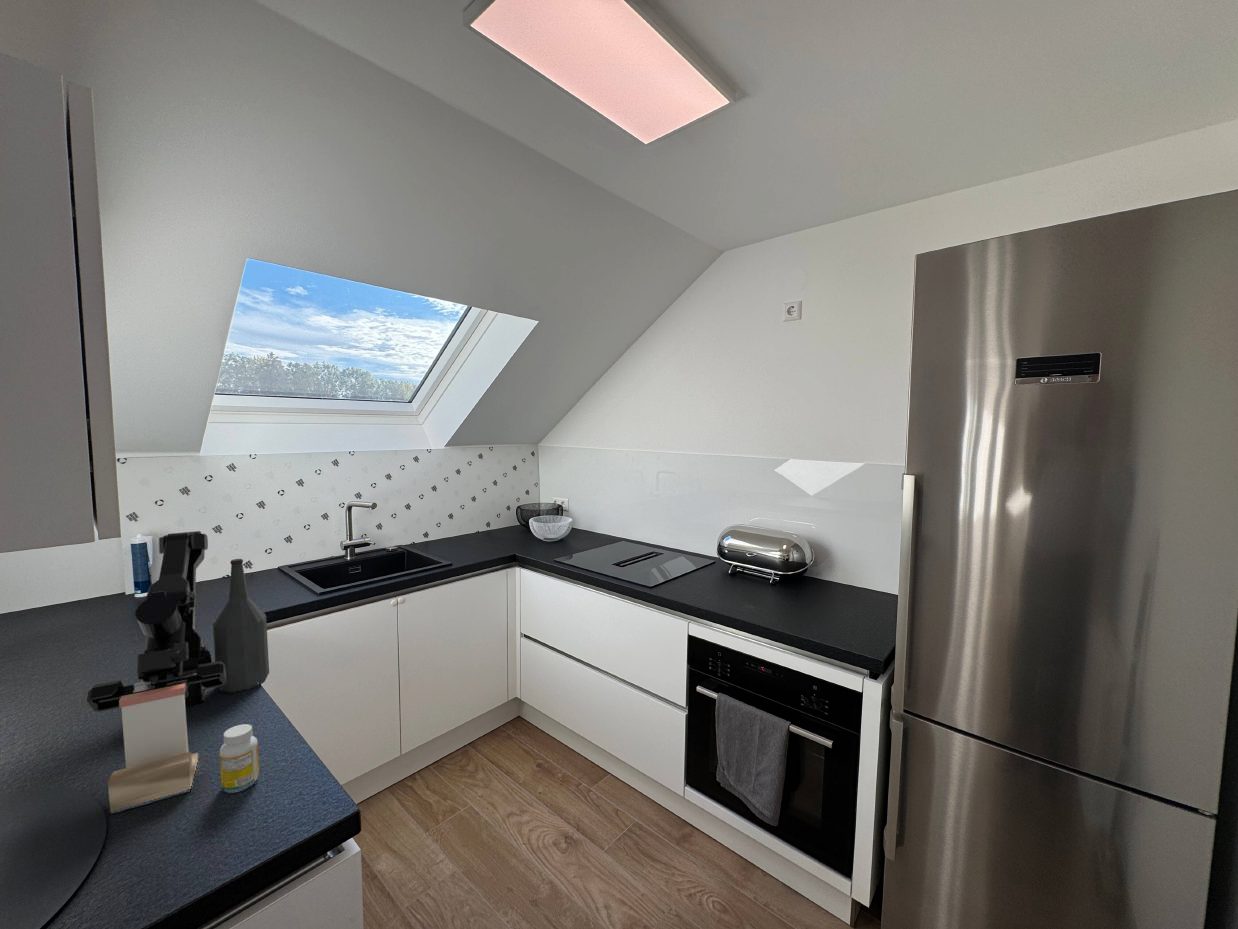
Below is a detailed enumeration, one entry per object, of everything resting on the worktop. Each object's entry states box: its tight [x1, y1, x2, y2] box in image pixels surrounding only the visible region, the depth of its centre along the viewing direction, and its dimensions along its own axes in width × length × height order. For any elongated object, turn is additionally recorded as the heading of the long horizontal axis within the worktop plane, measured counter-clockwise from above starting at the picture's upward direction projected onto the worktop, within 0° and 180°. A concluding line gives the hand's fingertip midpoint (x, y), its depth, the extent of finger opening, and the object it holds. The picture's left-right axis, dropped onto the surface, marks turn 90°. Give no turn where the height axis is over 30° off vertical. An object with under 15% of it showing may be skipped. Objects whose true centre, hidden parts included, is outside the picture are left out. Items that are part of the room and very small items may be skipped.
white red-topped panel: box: [119, 683, 189, 769], centre depth 92 cm, size 2×8×14 cm, turn 122°
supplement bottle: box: [219, 723, 260, 790], centre depth 92 cm, size 5×5×10 cm
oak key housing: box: [107, 751, 199, 812], centre depth 91 cm, size 10×10×6 cm
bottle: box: [212, 558, 270, 693], centre depth 126 cm, size 10×10×30 cm
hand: (157, 733), depth 93 cm, fingers closed
